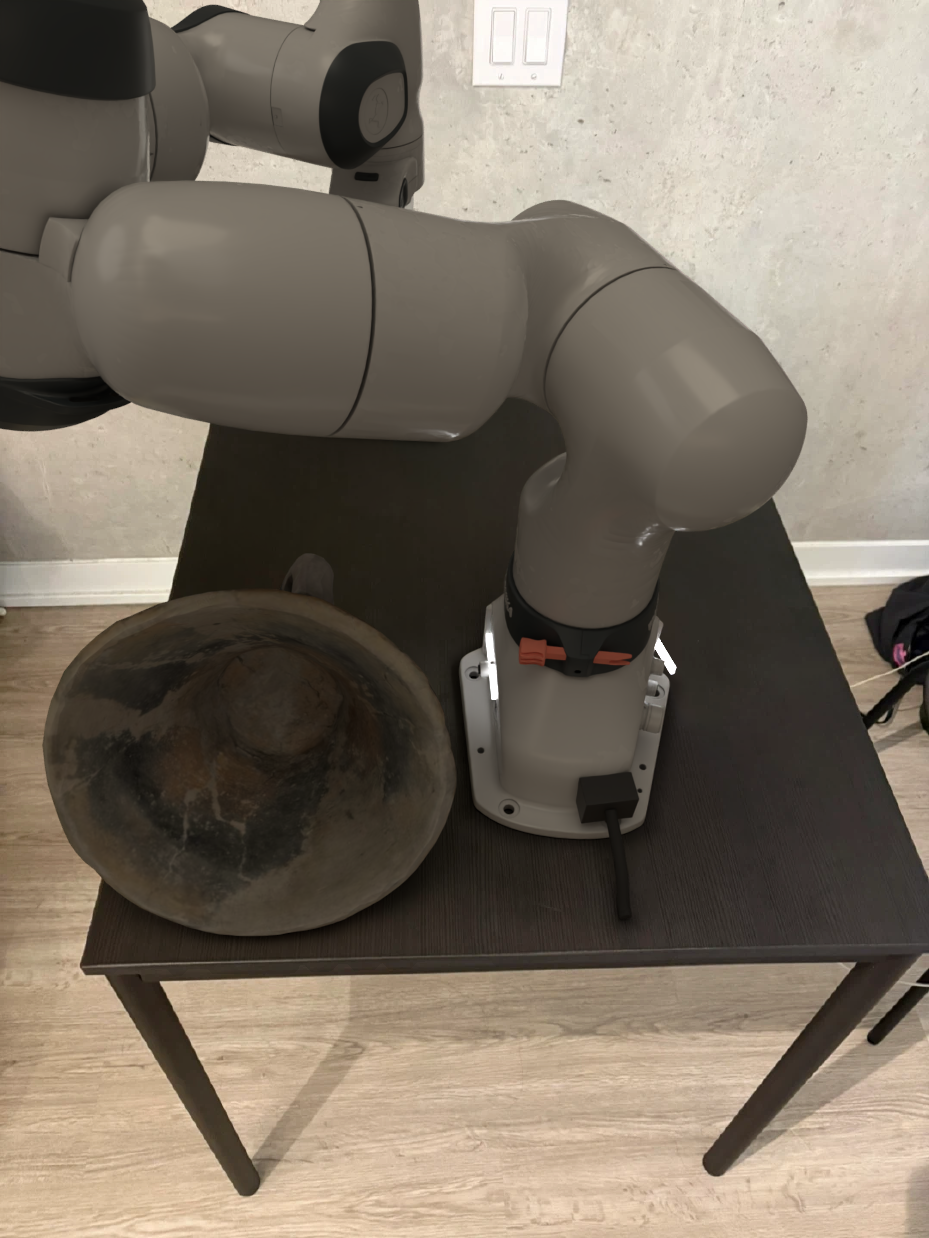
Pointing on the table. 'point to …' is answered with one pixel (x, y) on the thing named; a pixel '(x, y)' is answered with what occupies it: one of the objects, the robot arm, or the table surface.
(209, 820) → the bowl
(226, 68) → the robot arm
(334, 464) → the table surface
